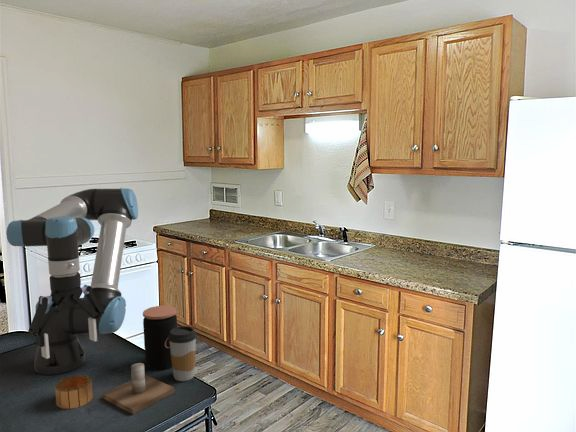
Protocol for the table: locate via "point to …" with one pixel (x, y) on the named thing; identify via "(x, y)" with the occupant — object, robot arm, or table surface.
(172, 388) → the post block
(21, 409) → the table surface
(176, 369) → the coffee cup
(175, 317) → the coffee jar
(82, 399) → the orange ring
